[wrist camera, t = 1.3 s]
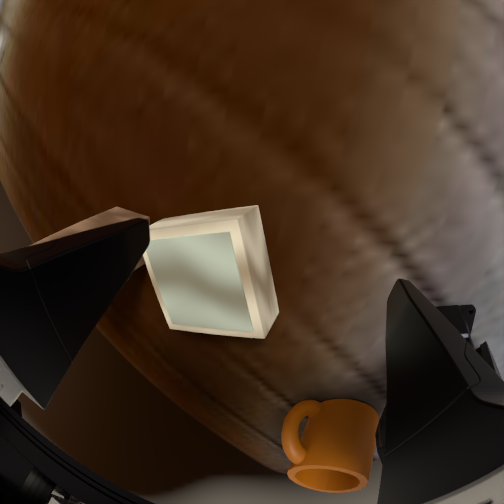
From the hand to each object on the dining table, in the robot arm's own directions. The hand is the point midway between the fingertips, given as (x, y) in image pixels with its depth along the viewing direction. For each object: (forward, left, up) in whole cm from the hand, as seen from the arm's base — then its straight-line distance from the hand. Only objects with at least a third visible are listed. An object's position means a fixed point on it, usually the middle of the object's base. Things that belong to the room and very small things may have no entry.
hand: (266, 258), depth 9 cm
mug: (-26, 0, -13) cm, 29 cm away
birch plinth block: (-6, +10, -13) cm, 17 cm away
